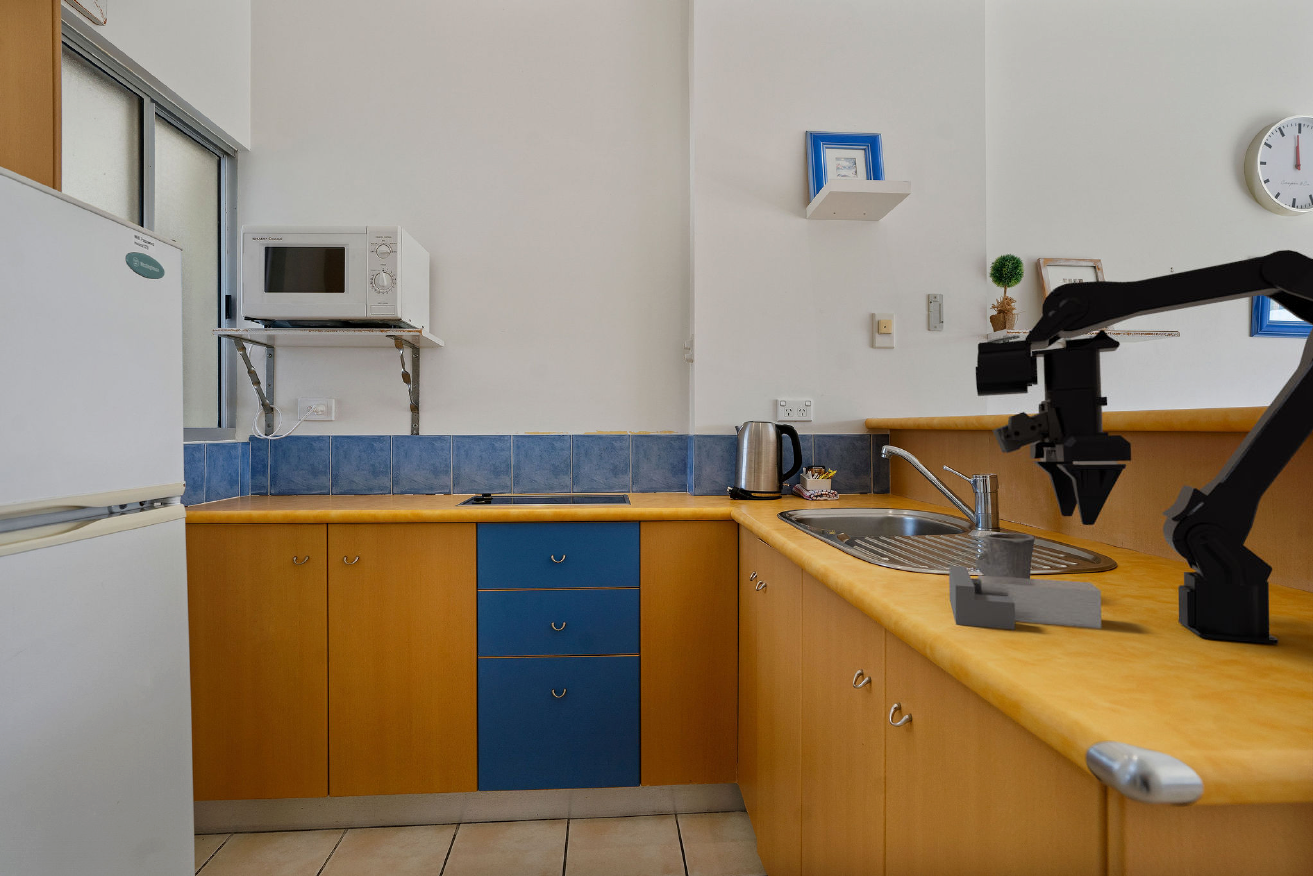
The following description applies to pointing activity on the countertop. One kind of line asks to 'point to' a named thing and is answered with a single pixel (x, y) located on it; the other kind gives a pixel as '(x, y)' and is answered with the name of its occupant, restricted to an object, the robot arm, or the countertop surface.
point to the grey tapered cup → (1007, 555)
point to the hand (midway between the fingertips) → (1076, 520)
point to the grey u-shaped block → (978, 603)
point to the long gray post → (1048, 600)
